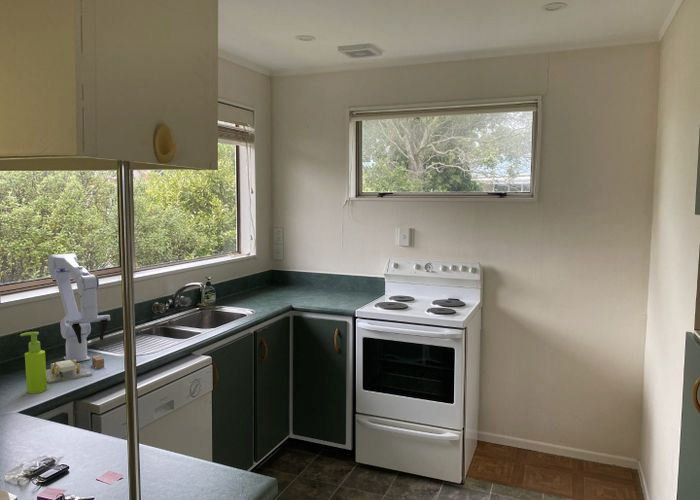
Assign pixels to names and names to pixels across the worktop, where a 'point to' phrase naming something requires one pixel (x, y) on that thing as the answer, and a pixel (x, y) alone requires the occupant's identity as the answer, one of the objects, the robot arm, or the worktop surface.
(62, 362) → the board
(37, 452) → the worktop surface
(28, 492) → the worktop surface
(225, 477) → the worktop surface
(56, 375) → the chassis
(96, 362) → the wooden block
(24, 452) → the worktop surface
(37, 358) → the soap dispenser
